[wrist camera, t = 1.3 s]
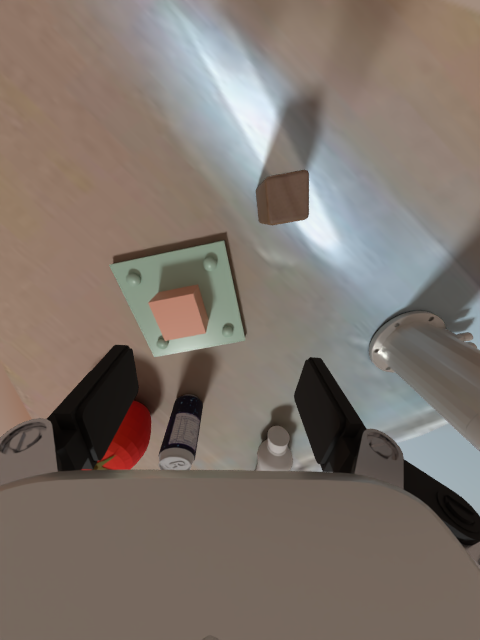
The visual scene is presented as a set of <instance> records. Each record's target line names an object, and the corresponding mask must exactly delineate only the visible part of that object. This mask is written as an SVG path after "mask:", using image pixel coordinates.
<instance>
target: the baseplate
mask: <svg viewBox="0 0 480 640" xmlns="http://www.w3.org/2000/svg"><path fill="white" fill-rule="evenodd" d="M109 266H110V268H111V270H112V272H113V274H114V276H115V278H116V280H117V282H118V284H119V286H120V288H121V290H122V292H123V294H124V296H125V298H126V300H127V302H128V304H129V306H130V308H131V310H132V312H133V314H134V316H135V319H136V321H137V323H138V325H139V327H140V329H141V331H142V333H143V335H144V337H145V339H146V341H147V343H148V345H149V347H150V349H151V351H152V353H153V355H154V357H158V356H163V355H169V354H174V353H180V352H185V351H191V350H196V349H202V348H207V347H213V346H218V345H224V344H229V343H235V342H240V341H245V335H244V330H243V326H242V321H241V316H240V312H239V307H238V302H237V298H236V293H235V288H234V284H233V279H232V274H231V270H230V265H229V260H228V255H227V251H226V246H225V241H224V240H222V241H218V242H213V243H208V244H203V245H199V246H194V247H189V248H184V249H180V250H175V251H170V252H165V253H161V254H156V255H151V256H146V257H142V258H137V259H132V260H127V261H123V262H118V263H113V264H111V265H109ZM197 284H198V286H199V289H200V293H201V296H202V299H203V303H204V306H205V309H206V313H207V316H208V319H209V322H208V326H207V331H206V333H205V334H200V335H194V336H189V337H184V338H178V339H173V340H168V341H165V340H164V338H163V336H162V333H161V331H160V329H159V326H158V324H157V322H156V320H155V317H154V315H153V313H152V311H151V308H150V306H149V304H148V302H149V301H150V300H151V299H152V298H153V297H154V296H155V295H156V294H157V293H158V292H162V291H167V290H172V289H177V288H182V287H187V286H192V285H197Z"/></svg>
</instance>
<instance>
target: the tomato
mask: <svg viewBox="0 0 480 640" xmlns="http://www.w3.org/2000/svg"><path fill="white" fill-rule="evenodd" d="M150 434H151V416H150V413H149V411H148V409H147V408H146V407H145V406H144V405H143V404H141V403H139V402H137V401H134V400H133V402H132V404H131V406H130V408H129V410H128V412H127V414H126V415H125V417H124V419H123V421H122V423H121V425H120V427H119V429H118V431H117V433H116V434H115V436H114V438H113V440H112V442H111V444H110V446H109V448H108V450H107V452H106V453H105V455H104V457H103V459H102V460H100V461H97V463H96V465H95V467H94V469H81V470H130V469H131V468H132V467H133V466H134V465H135V464H136V463H137V462H138V461H139V460H140V458H141V457H142V456H143V455H144V453H145V451H146V449H147V447H148V444H149V440H150Z"/></svg>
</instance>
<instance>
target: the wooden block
mask: <svg viewBox="0 0 480 640" xmlns="http://www.w3.org/2000/svg"><path fill="white" fill-rule="evenodd" d="M256 198H257V208H258V218H259V222H260V223H262V224H268V225H277V224H283V223H288V222H294V221H300V220H305V219H306V218H308V215H309V173H308V171H307V170H300V171H295V172H290V173H284V174H279V175H273V176H268V177H267V178H266V179H265V180H264V181H263V182H262V183H261V184H260V185H259V187H258V188H257V189H256Z"/></svg>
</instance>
